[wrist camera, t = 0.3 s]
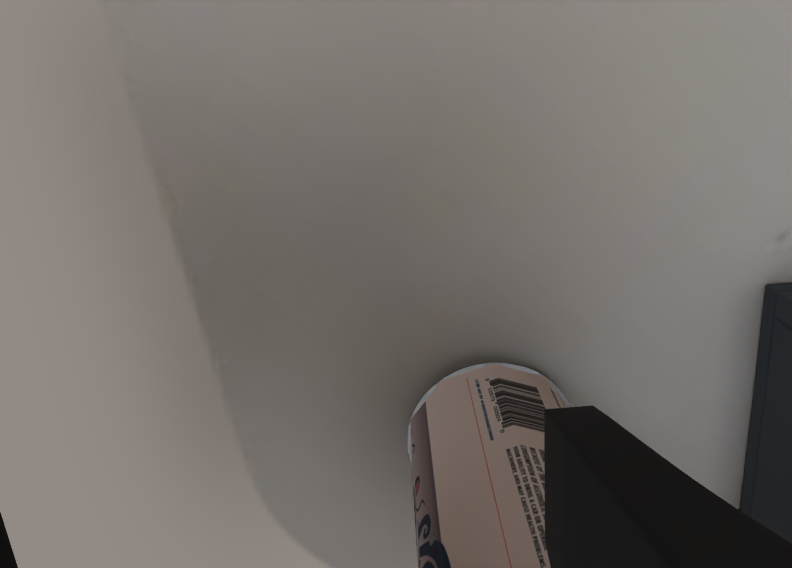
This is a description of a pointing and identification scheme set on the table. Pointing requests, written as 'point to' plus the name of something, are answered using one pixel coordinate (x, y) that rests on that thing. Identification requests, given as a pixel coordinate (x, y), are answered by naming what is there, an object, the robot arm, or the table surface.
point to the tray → (772, 420)
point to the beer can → (482, 468)
